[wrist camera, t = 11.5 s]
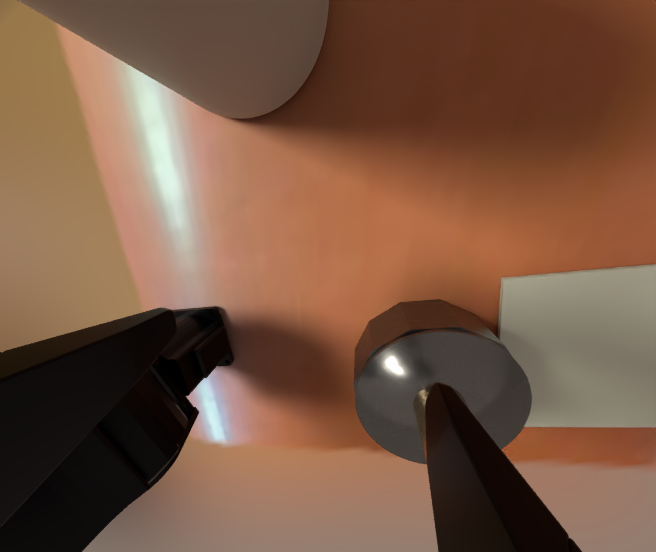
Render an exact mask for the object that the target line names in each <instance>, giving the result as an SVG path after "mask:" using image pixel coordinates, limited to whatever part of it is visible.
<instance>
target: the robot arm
mask: <svg viewBox="0 0 656 552" xmlns="http://www.w3.org/2000/svg"><path fill="white" fill-rule="evenodd" d="M212 311H214V313H215V314H214V313H213V312H212ZM228 360H229V361H228ZM233 362H234V358H233V355H232V351H231V347H230V344H229V341H228V337H227V334H226V331H225V328H224V325H223V322H222V318H221V315H220V312H219V309H218V308H216V307H203V308H192V309H180V310H170V309H166V308H157V309H153V310H150V311H146V312H143V313H139V314H136V315H132V316H128V317H125V318H121V319H117V320H114V321H111V322H107V323H103V324H99V325H96V326H92V327H89V328H85V329H82V330H78V331H75V332H71V333H67V334H64V335H60V336H56V337H53V338H49V339H46V340H42V341H39V342H35V343H31V344H28V345H24V346H21V347H17V348H13V349H10V350H6V351H4V352H0V552H82V551H83V550H84V549H85V548H86V547H87V546H88V545H89V543H90V542H91V541H92V540H93V539H94V538H95V537H96V536H97V535H98V534H99V533H100V532H101V531H102V530H103V529H104V528H105V527H106V526H107V525H108V524H109V523H110V522H111V521H112V520H113V519H114V518H115V517H116V516H117V515H118V514H119V513H120V512H122V511H123V510H124V509H125V508H126V507H127V506H128V505H129V504H131V503H132V502H133V501H135V500H136V499H137V498H138V497H140V496H141V495H142V494H143V493H145V492H146V491H147V490H149V489H150V488H151V487H152V486H153V485H154V484H156V483H157V482H158V481H159V480H160V479H161V478H162V477H163V476H164V474H165V473H166V472H167V471H168V470H169V468H170V467H171V466H172V465H173V463H174V462H175V460H176V459H177V457H178V455H179V453H180V451H181V449H182V447H183V445H184V443H185V441H186V439H187V437H188V435H189V433H190V430H191V428H192V426H193V424H194V422H195V420H196V418H197V416H198V414H199V411H198V410H197V408H196V407H193V405H192V404H191V403H190V401H189V400H188V399H187V397H186V396H188V395H189V394H190V393H191V392H192V391H193V390H194V389H195V388H196V387H197V385H198V384H199V383H200V382H201V381H202V380H203V379H204V378H207V377H208V376H209V375H210V373H211V372H212V371H213V370H214V369H215V368H216V366H230V365H231V364H232V363H233ZM425 422H426V454H427V467H428V474H429V483H430V490H431V498H432V506H433V513H434V520H435V528H436V536H437V544H438V551H439V552H582V551H581V550H580V548H579V547H578V546H577V545H576V543H575V542H574V541H573V540H572V539H570V538H569V536H568V534H567V532H566V531H565V530H564V528H563V527H562V526H561V525H560V523H559V522H558V521H557V520H556V518H555V517H554V516H553V515H552V513H551V512H550V511H549V510H548V508H547V507H546V506H545V504H544V503H543V502H542V501H541V499H540V498H539V497H538V496H537V494H536V493H535V492H534V491H533V489H532V488H531V487H530V485H529V484H528V483H527V482H526V480H525V479H524V478H523V477H522V475H521V474H520V473H519V472H518V470H517V469H516V468H515V467H514V465H513V464H512V463H511V462H510V460H509V459H508V458H507V456H506V455H505V454H504V453H503V451H502V450H501V449H500V448H499V446H498V445H497V444H496V443H495V441H494V440H493V439H492V438H491V436H490V435H489V434H488V432H487V431H486V430H485V429H484V427H483V426H482V425H481V424H480V422H479V421H478V420H477V419H476V417H475V416H474V415H473V414H472V412H471V411H470V410H469V409H468V407H467V406H466V405H465V403H464V402H463V401H462V400H461V398H460V397H459V396H458V395H457V393H456V392H455V391H454V390H453V388H452V387H451V386H449V385H447V384H443V383H440V382H436V383H434V385H433V387H432V389H431V391H430V392H429V394H428V396H427V398H426V402H425Z"/></svg>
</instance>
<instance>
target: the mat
mask: <svg viewBox="0 0 656 552" xmlns="http://www.w3.org/2000/svg"><path fill="white" fill-rule="evenodd" d="M497 338H498V339H499V340H500V341H501V342H502V343H503V344H504V345H505V346H506V348H507V349H508V351H509V352H510V354H511V355H512V357H513V358H514V359H515V360H516V361H517V363H518V364H519V365H520V366H521V368H522V369H523V371H524V372H525V374H526V376H527V378H528V381H529V384H530V387H531V393H532V405H531V410H530V414H529V417H528V419H527V422H526V424H525V425H524V427H655V428H656V264H647V265H636V266H625V267H614V268H603V269H592V270H581V271H569V272H558V273H547V274H536V275H525V276H514V277H503V278H501V286H500V302H499V318H498V334H497Z"/></svg>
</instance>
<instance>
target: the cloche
mask: <svg viewBox="0 0 656 552" xmlns="http://www.w3.org/2000/svg"><path fill="white" fill-rule="evenodd" d="M436 382H440V383H443V384H447V385H449V386H451V387H452V388H453V390H454V391H455V392H456V393H457V395H458V396H459V397H460V398H461V400H462V401H463V402H464V403H465V405H466V406H467V407H468V409H469V410H470V411H471V412H472V414H473V415H474V416H475V417H476V419H477V420H478V421H479V422H480V424H481V425H482V426H483V427H484V429H485V430H486V431H487V432H488V434H489V435H490V436H491V438H492V439H493V440H494V441H495V443H496V444H497V445H498V446H499V448H500V449H502V448H504V447H505V446H507V445H508V444H509V443H510V442H511V441H512V440H513V439H515V438H516V436H517V435H518V434H519V433H520V432H521V430H522V429H523V427H524V425H525V424H526V422H527V419H528V417H529V414H530V410H531V405H532V393H531V387H530V384H529V381H528V378H527V376H526V374H525V372H524V371H523V369H522V368H521V366H520V365H519V364H518V363H517V361H516V360H515V359H514V358H513V357H512V355H511V354H510V352H509V351H508V349H507V348H506V346H505V345H504V344H503V343H502V342H501V341H500V340H499V339H498V338H497V337H496V336H495V335H494V334H493V333H492V332H491V331H490V330H489V329H488V328H487V327H486V326H485V325H484V324H483V323H482V322H481V321H480V320H479V319H478V318H477V317H476V316H475V315H474V314H472V313H470V312H468V311H465V310H463V309H460V308H458V307H456V306H453V305H451V304H449V303H446V302H444V301H442V300H426V301H413V302H400V303H398V304H397V305H395V306H393V307H392V308H390V309H389V310H387V311H385V312H384V313H382V314H380V315H379V316H377V317H375V318H374V319H372V320H370V321H369V323H368V325H367V327H366V329H365V331H364V332H363V334H362V336H361V338H360V340H359V342H358V344H357V346H356V348H355V366H354V388H355V396H356V409H357V413H358V416H359V419H360V421H361V423H362V425H363V427H364V429H365V430H366V431H367V433H368V434H369V435H370V436H371V437H372V438H373V439H374V440H375V441H376V442H377V443H378V444H379V445H380V446H382V447H383V448H384V449H386V450H388V451H389V452H391V453H393V454H395V455H397V456H399V457H401V458H404V459H407V460H409V461H413V462H417V463H422V464H427V454H426V422H425V402H426V398H427V396H428V394H429V392H430V391H431V389H432V387H433V385H434V383H436Z"/></svg>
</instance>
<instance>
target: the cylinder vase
mask: <svg viewBox="0 0 656 552" xmlns="http://www.w3.org/2000/svg"><path fill="white" fill-rule="evenodd" d="M19 1H20V2H22V3H24V4H25V5H27V6H29V7H30V8H32V9H34V10H35V11H37V12H39V13H41V14H42V15H44V16H46V17H47V18H49V19H51V20H53V21H54V22H56V23H58V24H59V25H61V26H63V27H65V28H66V29H68V30H70V31H72V32H73V33H75V34H77V35H78V36H80V37H82V38H84V39H85V40H87V41H89V42H90V43H92V44H94V45H96V46H97V47H99V48H101V49H102V50H104V51H106V52H108V53H109V54H111V55H113V56H115V57H116V58H118V59H120V60H121V61H123V62H125V63H127V64H128V65H130V66H132V67H133V68H135V69H137V70H139V71H140V72H142V73H144V74H145V75H147V76H149V77H151V78H152V79H154V80H156V81H157V82H159V83H161V84H163V85H164V86H166V87H168V88H170V89H171V90H173V91H175V92H176V93H178V94H180V95H182V96H183V97H185V98H187V99H188V100H190V101H192V102H194V103H195V104H197V105H199V106H200V107H202V108H204V109H206V110H208V111H210V112H212V113H215V114H218V115H221V116H225V117H230V118H252V117H257V116H261V115H264V114H266V113H269V112H271V111H273V110H275V109H277V108H278V107H280V106H281V105H283V104H284V103H285V102H287V101H288V100H289V99H290V98H291V97H292V96H293V95H294V94H295V93H296V92H297V91H298V90H299V89H300V87H301V86H302V85H303V83H304V82H305V81H306V79H307V78H308V76H309V74H310V72H311V71H312V69H313V67H314V65H315V63H316V60H317V58H318V55H319V53H320V50H321V47H322V43H323V40H324V36H325V31H326V26H327V19H328V9H329V0H19Z"/></svg>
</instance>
